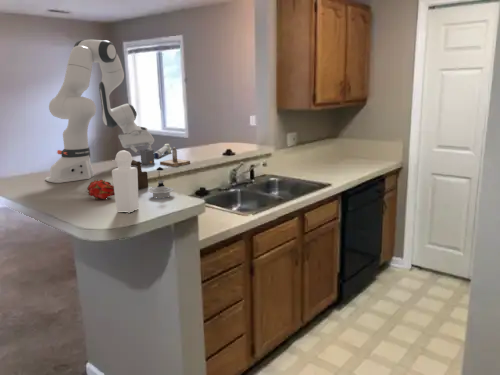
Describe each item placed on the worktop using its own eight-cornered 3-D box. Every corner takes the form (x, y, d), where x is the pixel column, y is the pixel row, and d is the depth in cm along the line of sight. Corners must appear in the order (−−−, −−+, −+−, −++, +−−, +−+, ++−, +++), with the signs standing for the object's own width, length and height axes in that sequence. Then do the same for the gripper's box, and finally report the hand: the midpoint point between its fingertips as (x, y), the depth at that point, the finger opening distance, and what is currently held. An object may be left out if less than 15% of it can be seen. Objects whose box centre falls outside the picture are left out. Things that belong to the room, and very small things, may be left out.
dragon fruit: (87, 201, 175) (116, 206, 174) (80, 194, 167) (111, 198, 167) (93, 182, 178) (122, 186, 178) (86, 174, 170) (117, 178, 170)
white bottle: (125, 208, 160) (120, 148, 155) (140, 209, 158) (136, 149, 153) (114, 213, 154) (109, 151, 148) (131, 214, 152) (126, 152, 147)
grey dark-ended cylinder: (151, 152, 265) (164, 141, 288) (152, 162, 268) (165, 151, 291) (159, 152, 264) (171, 141, 287) (160, 163, 267) (172, 151, 290)
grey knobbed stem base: (161, 163, 180) (141, 167, 172) (177, 166, 173) (157, 170, 166) (163, 192, 182) (143, 197, 175) (179, 196, 176) (159, 201, 169)
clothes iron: (131, 182, 202) (128, 153, 199) (149, 187, 191) (147, 157, 187) (115, 185, 196) (112, 156, 193) (133, 191, 185) (130, 160, 182)
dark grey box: (147, 165, 243) (146, 151, 241) (140, 164, 247) (139, 150, 245) (155, 164, 247) (154, 150, 245) (148, 162, 251) (147, 149, 249)
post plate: (173, 166, 239) (172, 149, 236) (160, 164, 246) (159, 147, 244) (190, 163, 247) (189, 147, 245) (176, 161, 255) (175, 145, 253)
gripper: (118, 130, 242) (130, 149, 238) (148, 127, 257) (160, 145, 253) (114, 138, 245) (126, 156, 242) (144, 134, 261) (155, 152, 257)
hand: (143, 150), depth 247 cm, fingers open, 8 cm apart
